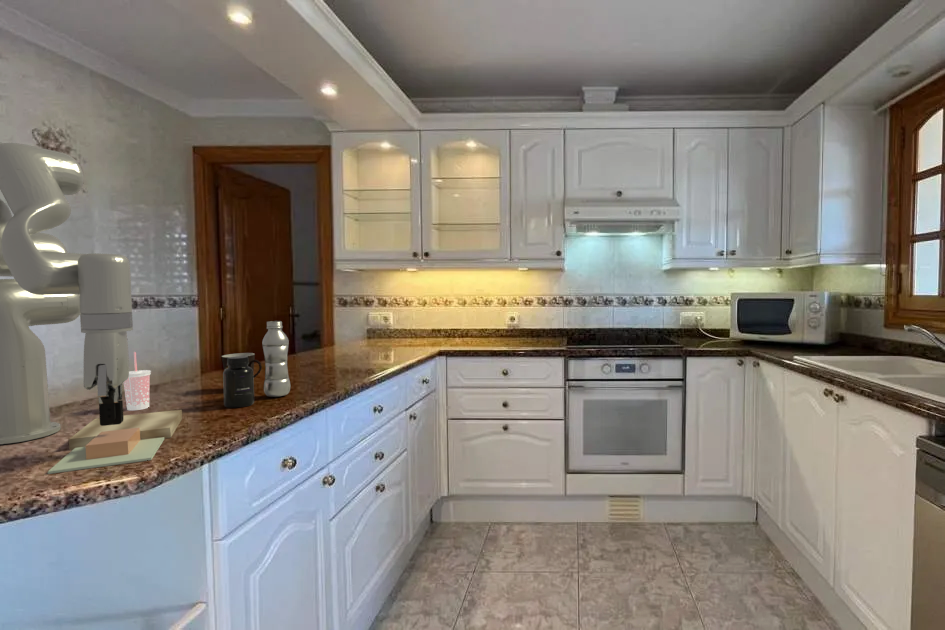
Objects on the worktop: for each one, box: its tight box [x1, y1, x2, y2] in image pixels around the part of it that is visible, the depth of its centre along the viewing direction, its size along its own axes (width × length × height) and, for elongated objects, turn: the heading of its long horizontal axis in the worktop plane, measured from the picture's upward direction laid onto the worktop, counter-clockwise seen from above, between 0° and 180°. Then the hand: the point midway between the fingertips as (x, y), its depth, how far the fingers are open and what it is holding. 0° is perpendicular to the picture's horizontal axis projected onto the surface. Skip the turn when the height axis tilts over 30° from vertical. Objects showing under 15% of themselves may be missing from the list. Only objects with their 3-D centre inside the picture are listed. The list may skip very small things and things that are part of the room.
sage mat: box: [47, 437, 165, 475], centre depth 88 cm, size 14×13×1 cm
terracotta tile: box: [85, 428, 140, 460], centre depth 89 cm, size 6×9×2 cm, turn 23°
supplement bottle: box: [222, 356, 255, 409], centre depth 123 cm, size 7×7×12 cm
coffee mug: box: [221, 352, 263, 379], centre depth 142 cm, size 12×9×10 cm
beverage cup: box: [122, 351, 152, 411], centre depth 123 cm, size 6×6×14 cm
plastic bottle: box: [261, 320, 291, 398], centre depth 132 cm, size 6×7×20 cm
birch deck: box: [68, 409, 183, 451], centre depth 101 cm, size 16×16×2 cm
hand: (111, 423), depth 90 cm, fingers closed
